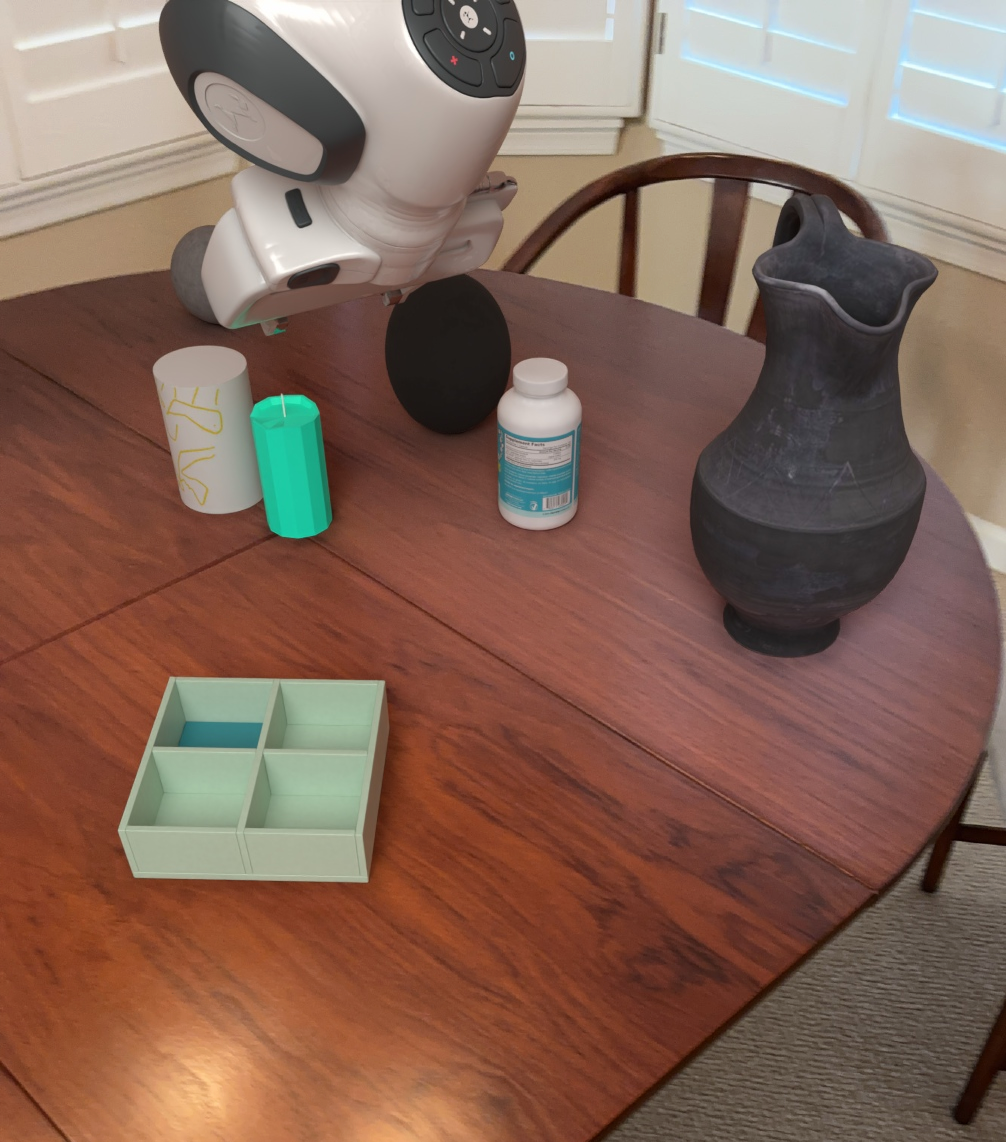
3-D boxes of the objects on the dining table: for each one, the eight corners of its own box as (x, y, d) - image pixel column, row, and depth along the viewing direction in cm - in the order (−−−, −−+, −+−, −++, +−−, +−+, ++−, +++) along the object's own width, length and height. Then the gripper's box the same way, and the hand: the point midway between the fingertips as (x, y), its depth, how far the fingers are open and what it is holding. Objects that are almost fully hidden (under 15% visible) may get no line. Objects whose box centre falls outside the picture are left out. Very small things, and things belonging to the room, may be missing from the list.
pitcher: (705, 698, 92) (770, 299, 70) (643, 552, 106) (681, 179, 84) (916, 676, 94) (1045, 281, 72) (828, 535, 108) (914, 166, 85)
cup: (162, 496, 112) (133, 370, 103) (222, 460, 117) (199, 337, 108) (225, 523, 109) (200, 396, 100) (284, 485, 113) (265, 360, 104)
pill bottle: (522, 484, 114) (524, 342, 104) (590, 504, 111) (599, 361, 101) (482, 520, 109) (481, 376, 99) (553, 542, 107) (558, 396, 97)
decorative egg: (520, 404, 124) (522, 252, 113) (499, 463, 116) (499, 305, 105) (405, 394, 126) (396, 243, 115) (377, 452, 118) (364, 295, 106)
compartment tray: (133, 878, 80) (117, 830, 76) (182, 724, 90) (169, 676, 87) (368, 883, 79) (362, 835, 76) (389, 728, 90) (385, 680, 86)
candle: (290, 497, 112) (271, 372, 103) (344, 512, 110) (330, 386, 101) (254, 528, 108) (232, 401, 99) (310, 544, 107) (292, 416, 98)
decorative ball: (284, 319, 138) (271, 227, 131) (215, 347, 133) (198, 252, 126) (231, 295, 143) (216, 204, 135) (163, 321, 138) (143, 228, 130)
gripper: (509, 120, 75) (441, 236, 88) (205, 178, 68) (180, 295, 81) (545, 218, 76) (472, 319, 89) (248, 286, 69) (217, 385, 82)
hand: (331, 308), depth 85 cm, fingers open, 8 cm apart
